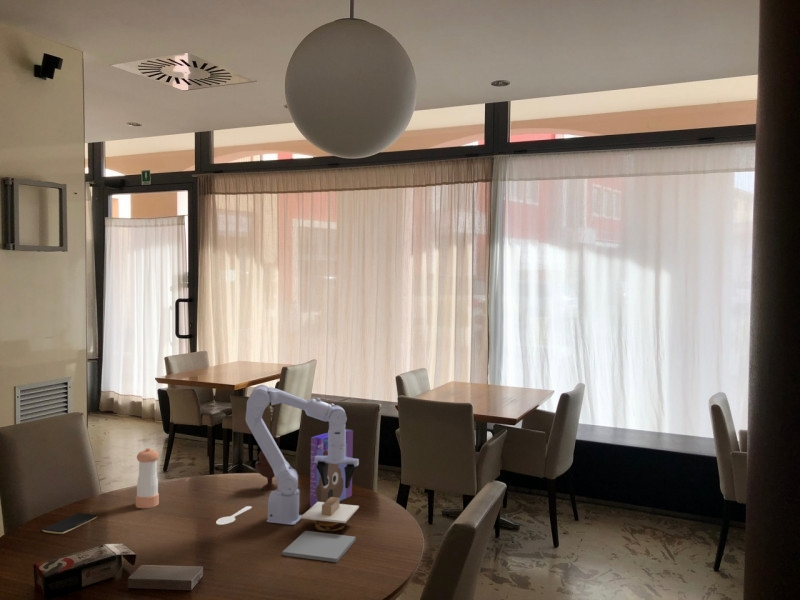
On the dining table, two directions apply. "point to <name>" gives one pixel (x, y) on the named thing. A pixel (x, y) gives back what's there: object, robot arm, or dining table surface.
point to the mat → (319, 546)
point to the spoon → (231, 517)
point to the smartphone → (69, 523)
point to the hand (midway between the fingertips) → (336, 486)
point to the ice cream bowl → (265, 471)
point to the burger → (329, 525)
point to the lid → (330, 511)
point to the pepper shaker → (147, 479)
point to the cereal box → (329, 471)
